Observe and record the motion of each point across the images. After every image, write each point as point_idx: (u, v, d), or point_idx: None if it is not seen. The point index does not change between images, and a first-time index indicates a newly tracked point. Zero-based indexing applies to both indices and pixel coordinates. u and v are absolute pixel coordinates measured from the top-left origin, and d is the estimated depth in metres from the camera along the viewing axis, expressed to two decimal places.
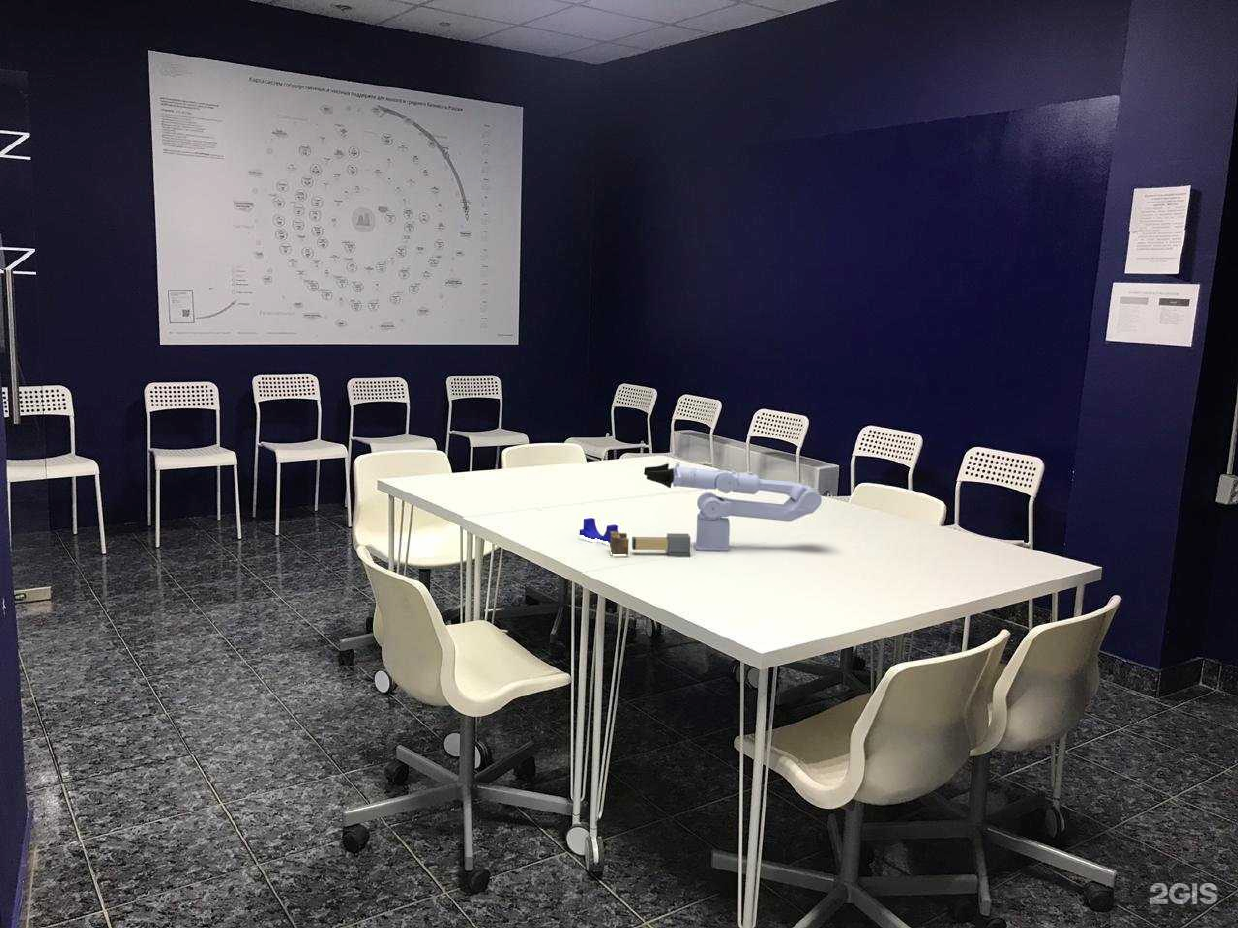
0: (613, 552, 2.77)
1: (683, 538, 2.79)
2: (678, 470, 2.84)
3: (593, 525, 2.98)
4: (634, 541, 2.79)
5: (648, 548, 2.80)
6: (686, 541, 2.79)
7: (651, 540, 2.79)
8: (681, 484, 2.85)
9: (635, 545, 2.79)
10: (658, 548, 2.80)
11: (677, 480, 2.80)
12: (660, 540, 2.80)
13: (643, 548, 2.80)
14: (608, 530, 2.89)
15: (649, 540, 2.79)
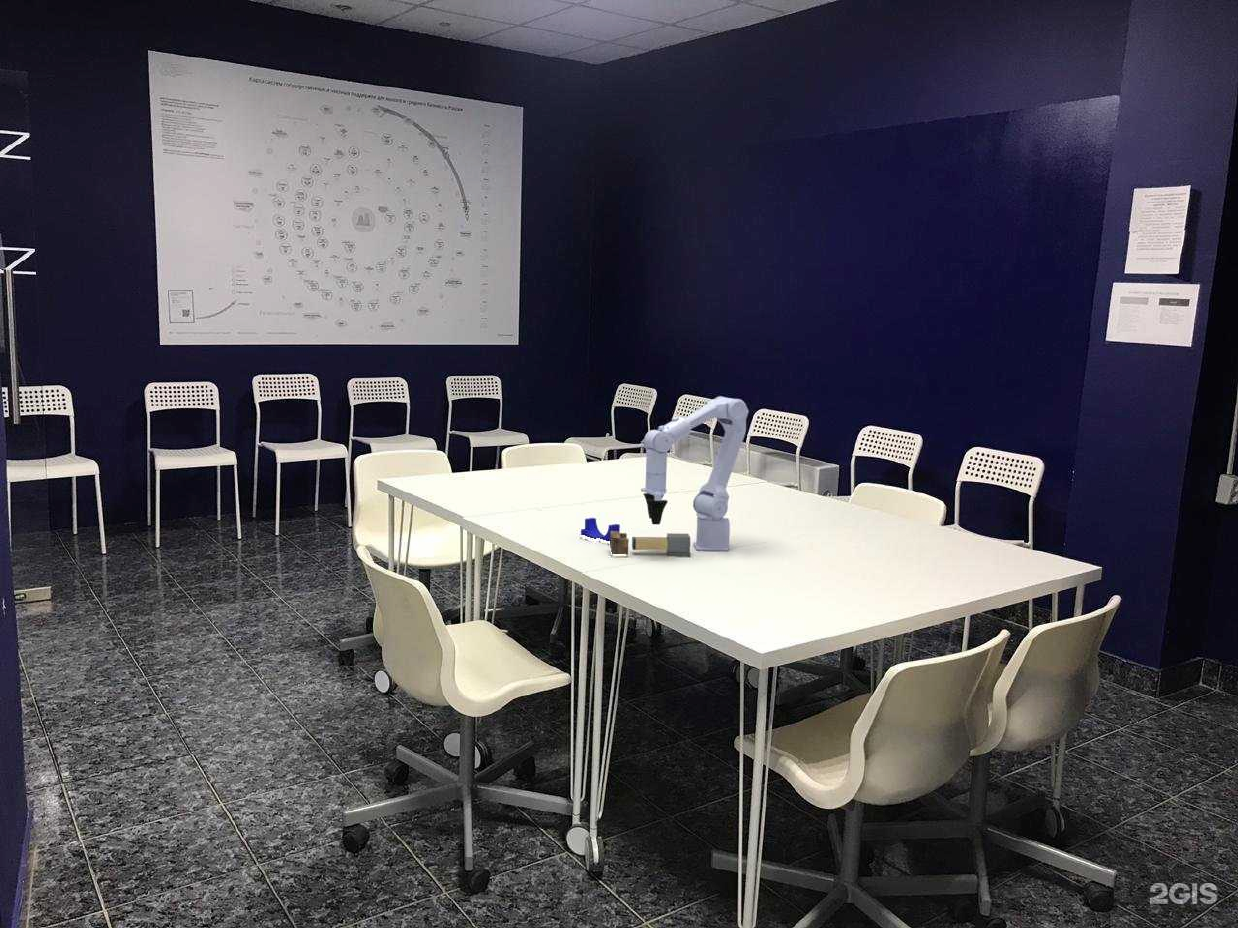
0: (613, 552, 2.77)
1: (683, 538, 2.79)
2: (648, 492, 2.76)
3: (594, 525, 2.98)
4: (634, 541, 2.79)
5: (648, 548, 2.80)
6: (686, 541, 2.79)
7: (651, 540, 2.79)
8: (663, 486, 2.77)
9: (635, 545, 2.79)
10: (658, 548, 2.80)
11: (658, 497, 2.72)
12: (660, 540, 2.80)
13: (643, 548, 2.80)
14: (610, 530, 2.90)
15: (649, 540, 2.79)
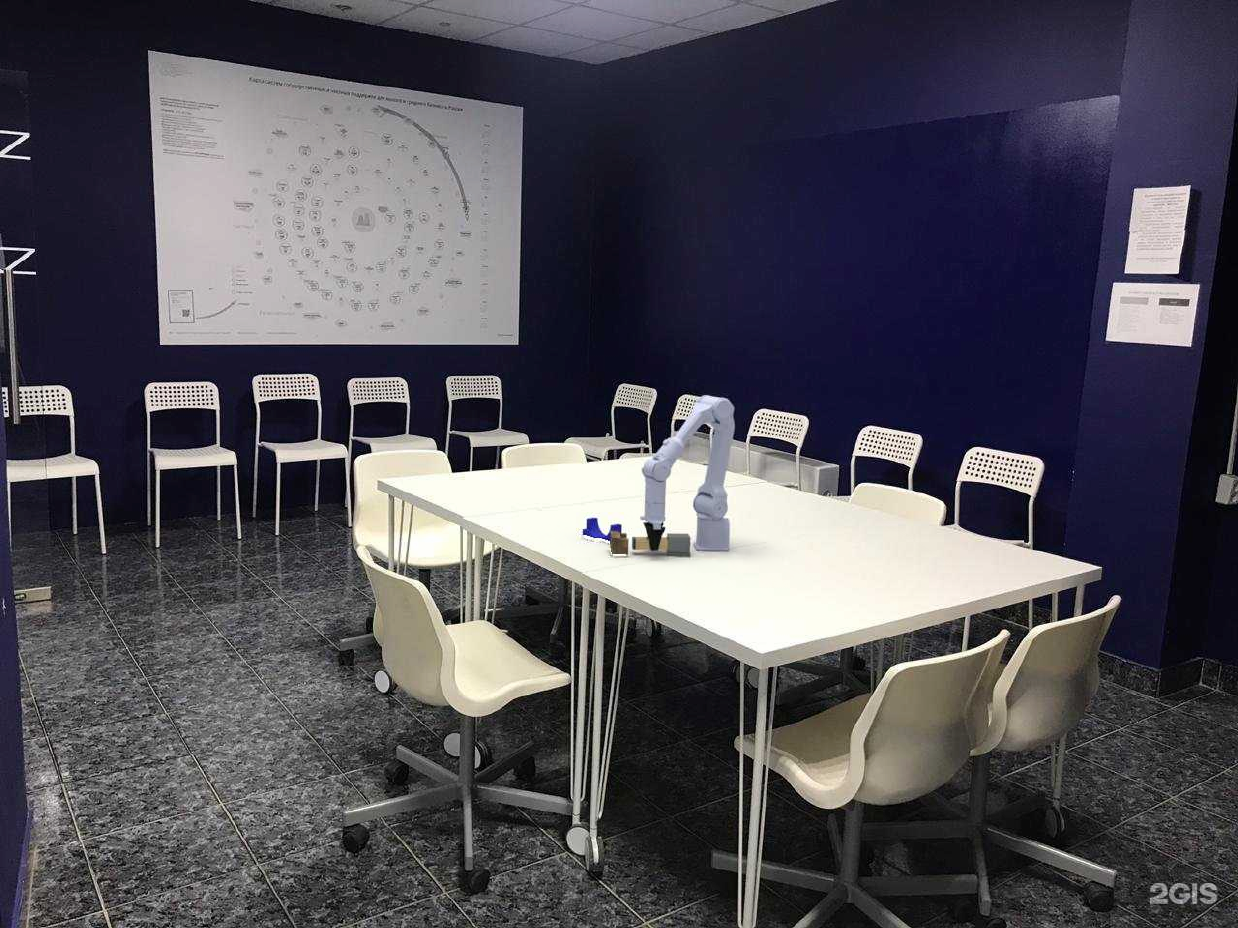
0: (613, 552, 2.77)
1: (683, 538, 2.79)
2: (647, 520, 2.77)
3: (596, 524, 2.99)
4: (634, 541, 2.79)
5: (648, 548, 2.80)
6: (686, 541, 2.79)
7: None
8: (662, 514, 2.78)
9: (635, 545, 2.79)
10: None
11: (657, 526, 2.73)
12: None
13: (643, 548, 2.80)
14: (612, 530, 2.90)
15: None
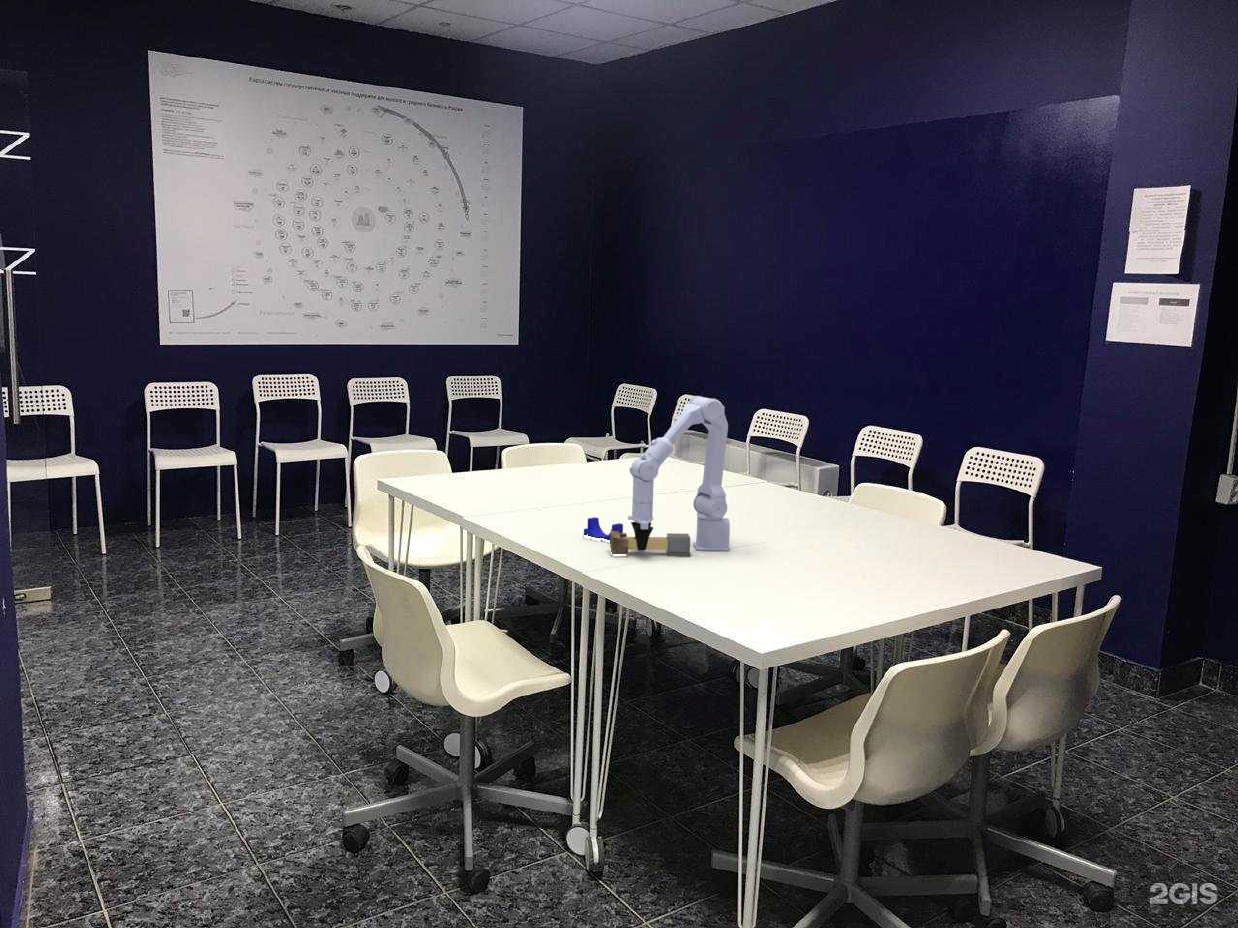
0: (613, 552, 2.77)
1: (683, 538, 2.79)
2: (635, 520, 2.77)
3: (597, 524, 2.99)
4: None
5: (636, 548, 2.79)
6: (686, 541, 2.79)
7: None
8: (649, 514, 2.78)
9: None
10: (646, 548, 2.80)
11: (644, 525, 2.73)
12: (648, 540, 2.79)
13: (631, 548, 2.79)
14: (614, 529, 2.91)
15: None
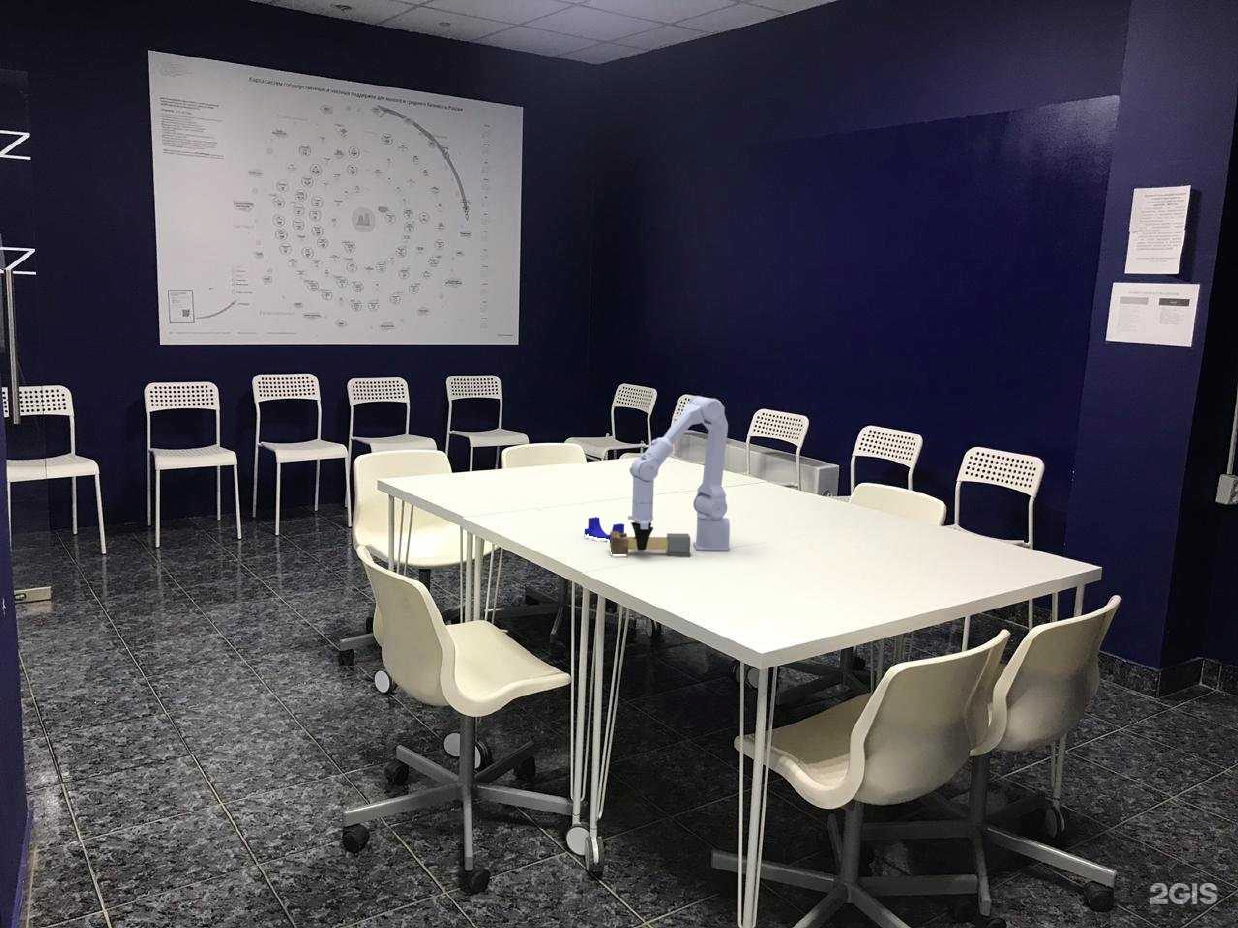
0: (613, 552, 2.77)
1: (683, 538, 2.79)
2: (635, 520, 2.77)
3: (598, 524, 2.99)
4: None
5: (636, 548, 2.79)
6: (686, 541, 2.79)
7: None
8: (649, 514, 2.78)
9: None
10: (646, 548, 2.80)
11: (644, 525, 2.73)
12: (648, 540, 2.79)
13: (631, 548, 2.79)
14: (615, 529, 2.91)
15: None
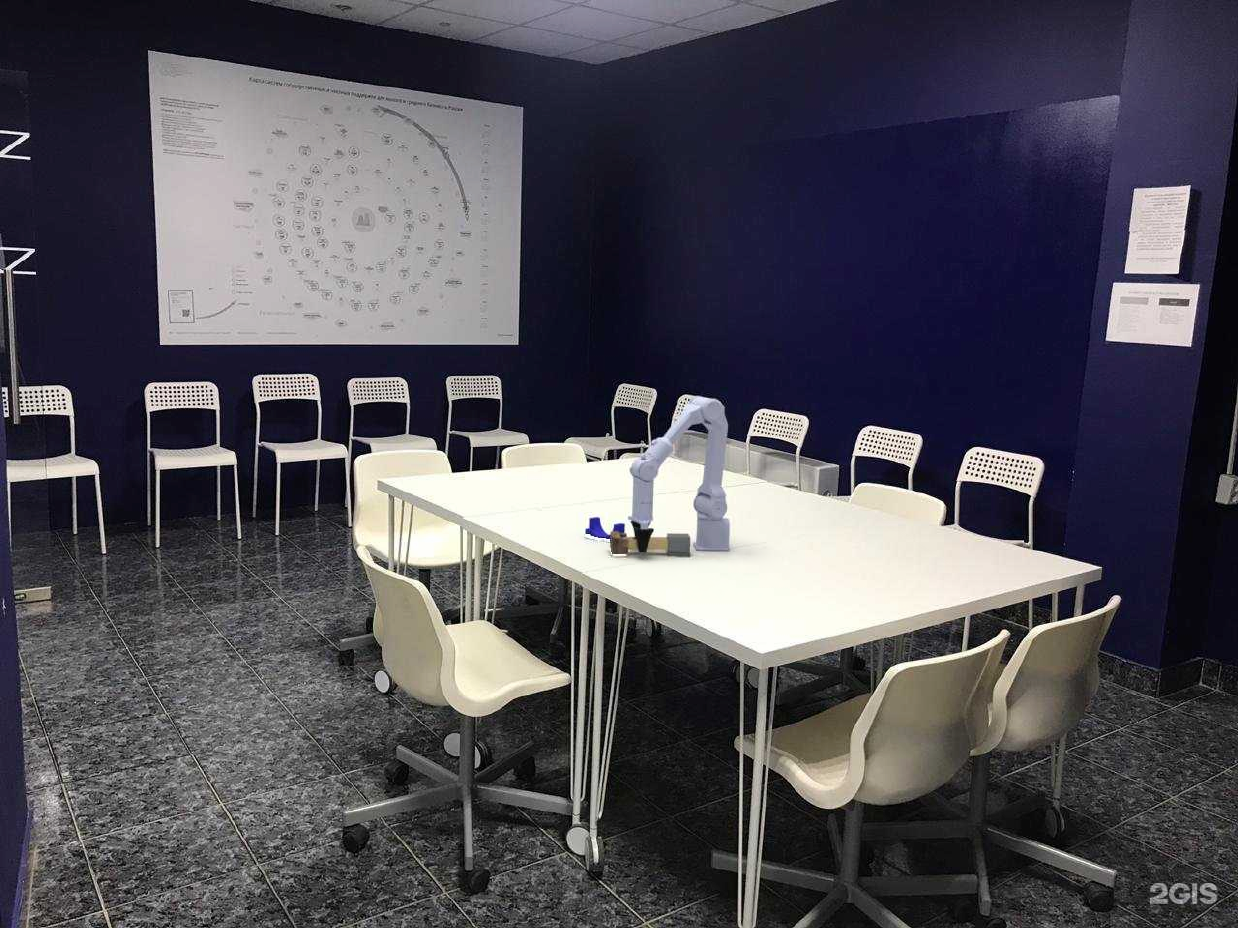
0: (613, 552, 2.77)
1: (683, 538, 2.79)
2: (635, 520, 2.77)
3: (599, 524, 2.99)
4: None
5: (636, 548, 2.79)
6: (686, 541, 2.79)
7: None
8: (649, 514, 2.78)
9: None
10: None
11: (644, 525, 2.73)
12: None
13: (631, 548, 2.79)
14: (615, 529, 2.91)
15: None
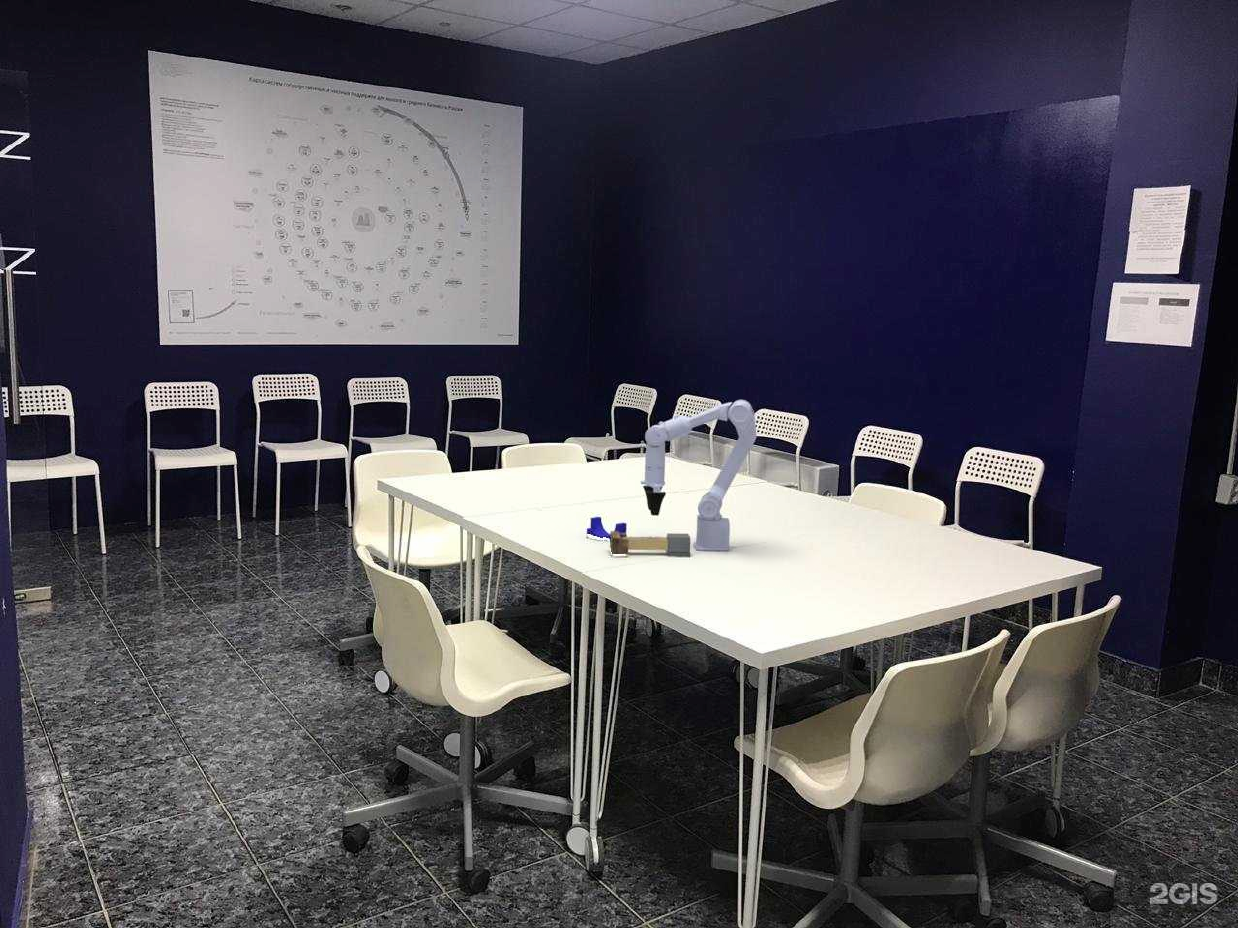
0: (613, 552, 2.77)
1: (683, 538, 2.79)
2: (648, 484, 2.88)
3: (600, 524, 3.00)
4: None
5: (636, 548, 2.79)
6: (686, 541, 2.79)
7: (639, 540, 2.79)
8: (661, 479, 2.89)
9: None
10: (646, 548, 2.80)
11: (657, 489, 2.84)
12: (648, 540, 2.79)
13: (631, 548, 2.79)
14: (617, 529, 2.92)
15: (637, 540, 2.79)
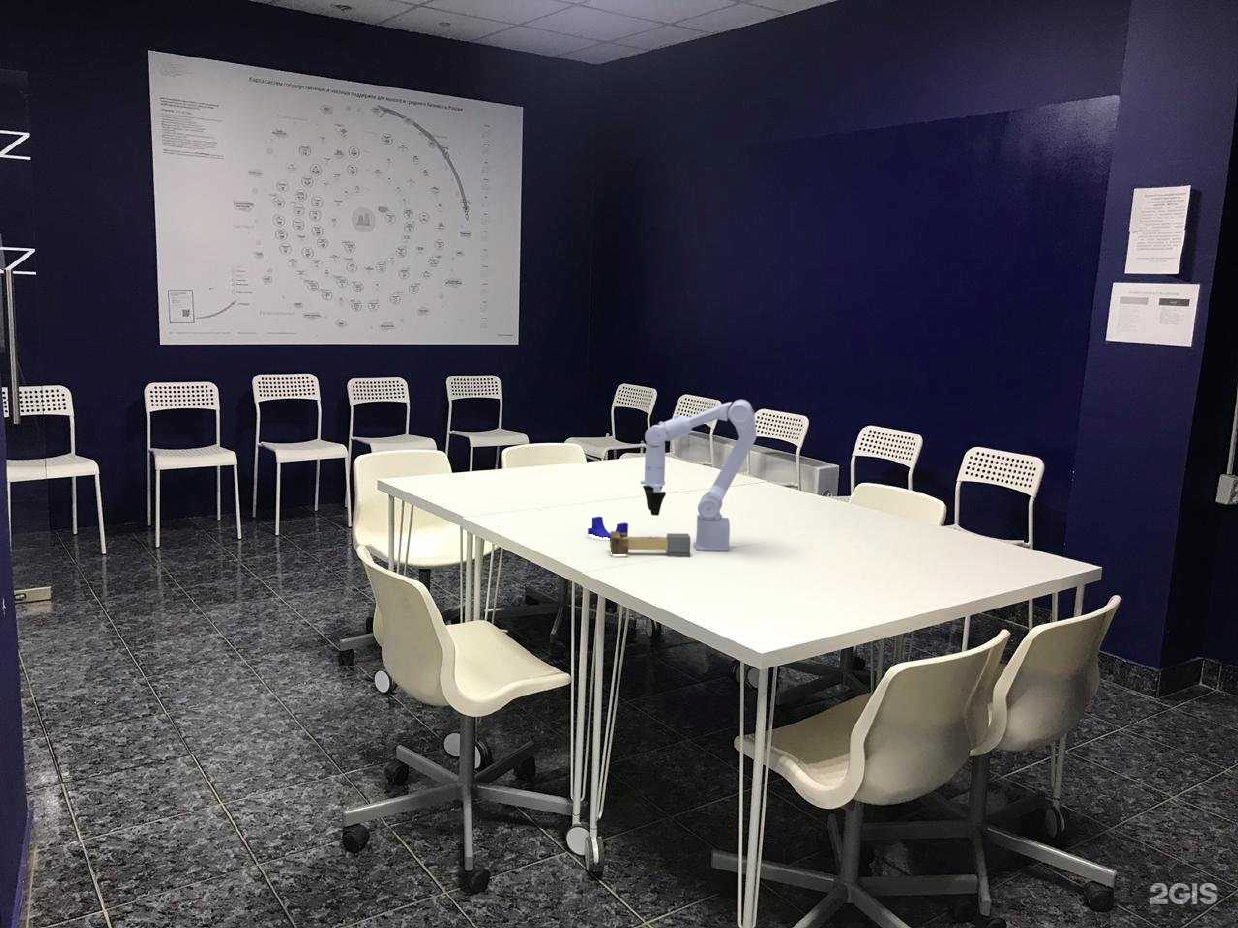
0: (613, 552, 2.77)
1: (683, 538, 2.79)
2: (648, 484, 2.88)
3: (601, 523, 3.00)
4: None
5: (636, 548, 2.79)
6: (686, 541, 2.79)
7: (639, 540, 2.79)
8: (661, 479, 2.89)
9: None
10: (646, 548, 2.80)
11: (657, 489, 2.84)
12: (648, 540, 2.79)
13: (631, 548, 2.79)
14: (619, 528, 2.92)
15: (637, 540, 2.79)
